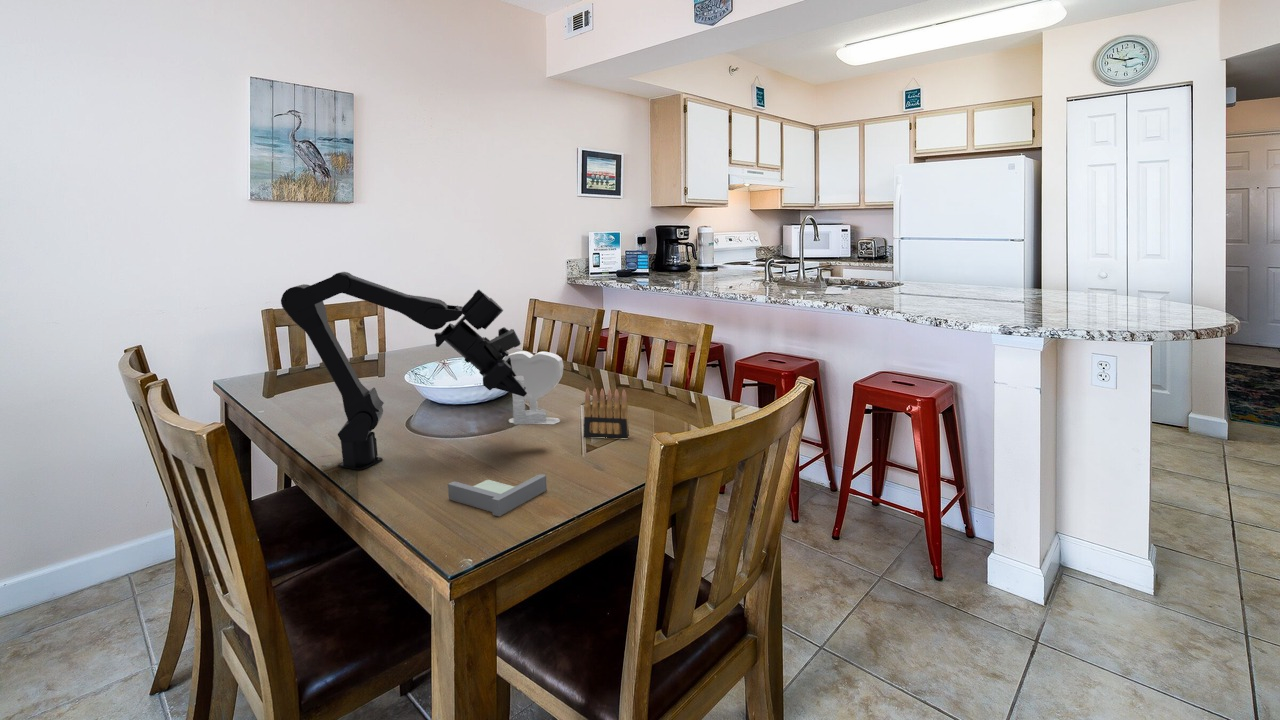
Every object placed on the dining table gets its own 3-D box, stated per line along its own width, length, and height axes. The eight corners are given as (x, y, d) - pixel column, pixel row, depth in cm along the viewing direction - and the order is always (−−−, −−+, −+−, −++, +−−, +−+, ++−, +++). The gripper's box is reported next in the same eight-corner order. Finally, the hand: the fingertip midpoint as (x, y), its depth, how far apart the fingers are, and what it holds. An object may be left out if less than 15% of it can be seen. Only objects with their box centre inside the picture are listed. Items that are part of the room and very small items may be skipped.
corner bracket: (445, 500, 116) (444, 485, 115) (495, 477, 126) (494, 462, 126) (499, 516, 109) (498, 500, 108) (546, 490, 120) (546, 475, 119)
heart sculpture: (502, 422, 163) (498, 353, 159) (508, 416, 167) (505, 350, 164) (561, 424, 161) (559, 355, 157) (565, 418, 166) (563, 351, 162)
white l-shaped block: (514, 424, 138) (512, 380, 136) (513, 419, 142) (511, 376, 140) (546, 422, 139) (545, 378, 137) (544, 417, 143) (543, 374, 141)
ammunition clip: (629, 437, 151) (628, 388, 148) (627, 439, 149) (627, 390, 146) (585, 435, 152) (584, 386, 150) (583, 437, 151) (582, 388, 148)
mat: (461, 493, 119) (461, 491, 119) (487, 480, 125) (487, 479, 125) (501, 504, 114) (501, 503, 114) (526, 491, 120) (526, 489, 120)
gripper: (497, 323, 126) (554, 375, 130) (496, 312, 143) (546, 357, 148) (458, 364, 125) (516, 414, 130) (462, 347, 143) (513, 392, 148)
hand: (524, 392), depth 139 cm, fingers closed on white l-shaped block, 4 cm apart
